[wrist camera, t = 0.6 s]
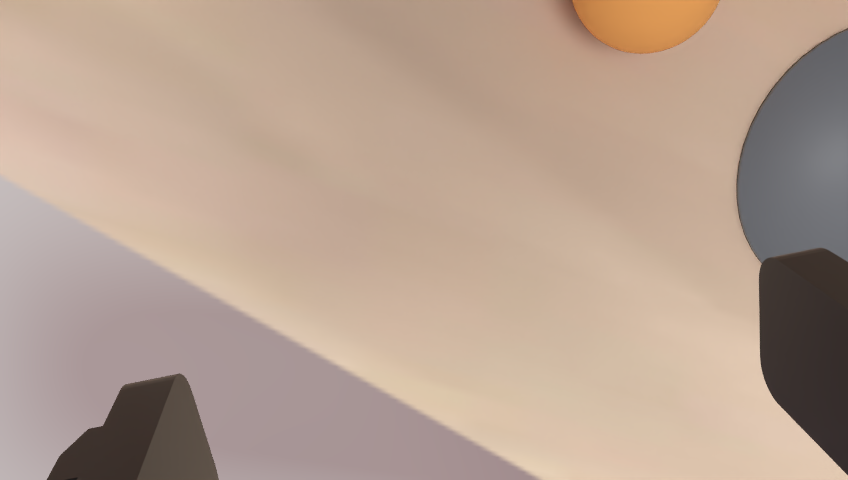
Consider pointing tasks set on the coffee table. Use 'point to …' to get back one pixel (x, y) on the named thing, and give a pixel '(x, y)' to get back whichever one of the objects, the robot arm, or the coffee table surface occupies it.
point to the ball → (644, 22)
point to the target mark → (799, 159)
